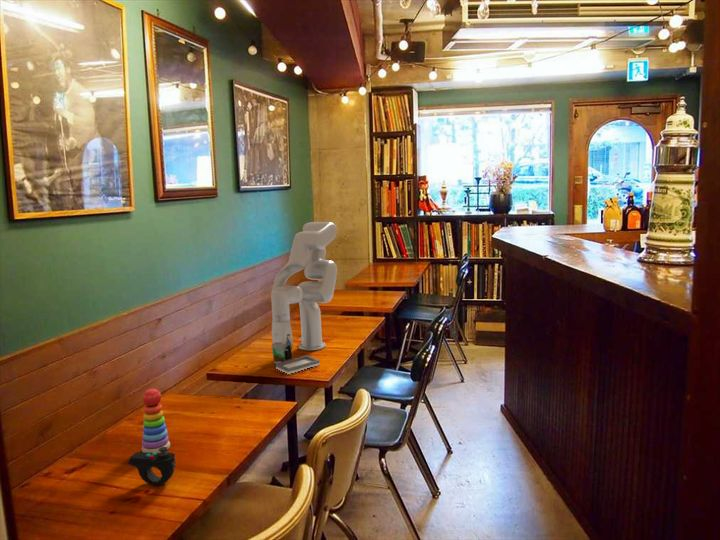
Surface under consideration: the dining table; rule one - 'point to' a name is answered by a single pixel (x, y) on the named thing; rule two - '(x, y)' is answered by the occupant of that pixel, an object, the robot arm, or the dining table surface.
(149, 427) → the stacking toy
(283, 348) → the food container
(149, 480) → the controller
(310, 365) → the framed board
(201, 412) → the dining table surface
